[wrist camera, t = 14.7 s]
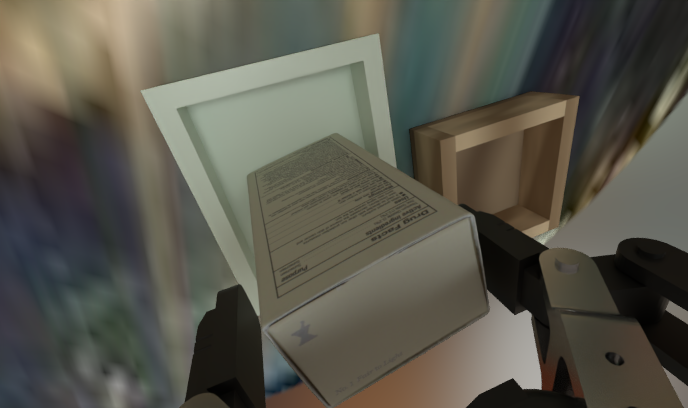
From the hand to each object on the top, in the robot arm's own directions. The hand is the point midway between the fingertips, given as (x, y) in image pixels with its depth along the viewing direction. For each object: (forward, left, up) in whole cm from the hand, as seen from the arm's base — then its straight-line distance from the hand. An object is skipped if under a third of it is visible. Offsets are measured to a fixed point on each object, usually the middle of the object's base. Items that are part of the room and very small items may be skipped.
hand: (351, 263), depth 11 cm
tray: (0, 0, -9) cm, 9 cm away
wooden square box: (-13, +4, -9) cm, 16 cm away
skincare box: (0, 0, -9) cm, 9 cm away
